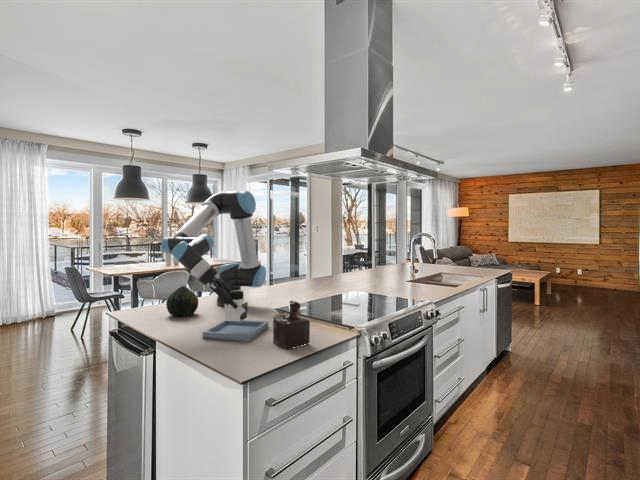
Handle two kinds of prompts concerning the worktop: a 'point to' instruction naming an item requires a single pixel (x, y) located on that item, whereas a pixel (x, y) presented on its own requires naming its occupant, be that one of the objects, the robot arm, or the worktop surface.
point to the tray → (236, 330)
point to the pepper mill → (291, 328)
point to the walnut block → (278, 315)
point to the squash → (182, 302)
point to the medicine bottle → (230, 312)
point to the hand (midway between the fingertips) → (244, 310)
